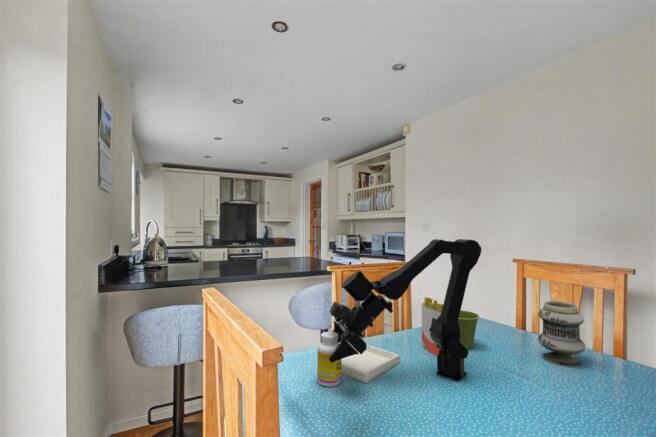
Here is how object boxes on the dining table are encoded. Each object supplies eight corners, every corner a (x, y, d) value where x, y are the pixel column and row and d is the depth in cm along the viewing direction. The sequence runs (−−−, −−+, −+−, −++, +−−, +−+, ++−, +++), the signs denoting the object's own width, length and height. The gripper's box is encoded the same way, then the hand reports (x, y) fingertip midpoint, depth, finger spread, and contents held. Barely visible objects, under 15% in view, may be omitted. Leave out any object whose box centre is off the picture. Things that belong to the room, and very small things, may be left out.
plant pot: (449, 337, 121) (448, 308, 121) (482, 344, 114) (482, 313, 114) (439, 347, 111) (439, 315, 112) (476, 354, 104) (475, 320, 105)
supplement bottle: (339, 389, 82) (339, 339, 82) (314, 386, 83) (314, 337, 84) (343, 377, 89) (343, 331, 89) (320, 374, 90) (320, 329, 90)
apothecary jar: (543, 364, 97) (542, 306, 98) (534, 350, 108) (533, 298, 109) (592, 371, 92) (590, 310, 93) (577, 356, 104) (576, 301, 104)
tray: (399, 362, 98) (399, 354, 98) (366, 383, 85) (366, 374, 85) (354, 347, 110) (354, 340, 110) (318, 363, 97) (318, 356, 97)
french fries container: (432, 345, 112) (432, 295, 113) (453, 357, 102) (452, 302, 103) (421, 347, 111) (421, 296, 112) (441, 359, 101) (440, 303, 101)
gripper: (341, 286, 97) (305, 323, 95) (354, 300, 78) (309, 346, 76) (366, 311, 97) (330, 348, 96) (384, 331, 79) (341, 377, 77)
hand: (327, 354), depth 86 cm, fingers open, 9 cm apart
